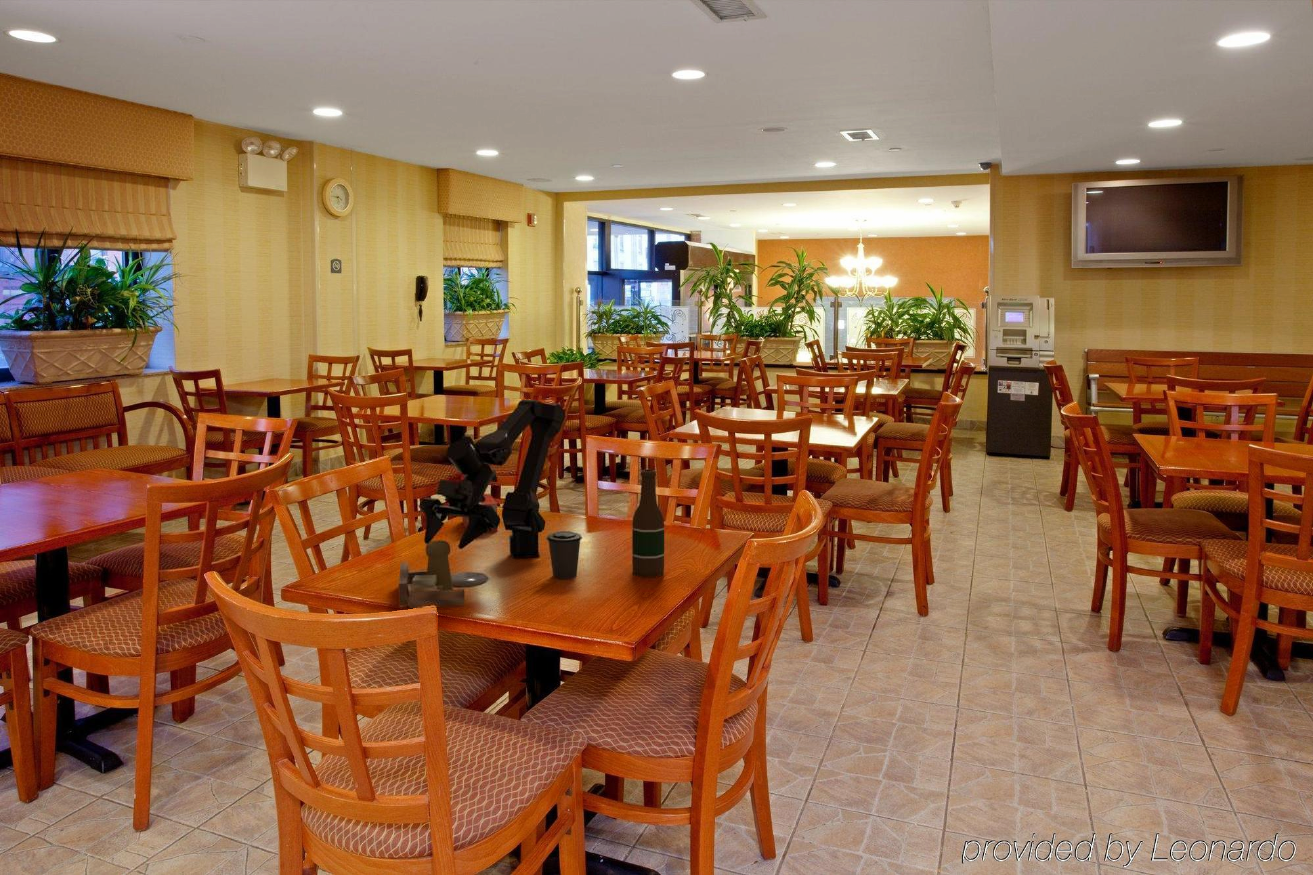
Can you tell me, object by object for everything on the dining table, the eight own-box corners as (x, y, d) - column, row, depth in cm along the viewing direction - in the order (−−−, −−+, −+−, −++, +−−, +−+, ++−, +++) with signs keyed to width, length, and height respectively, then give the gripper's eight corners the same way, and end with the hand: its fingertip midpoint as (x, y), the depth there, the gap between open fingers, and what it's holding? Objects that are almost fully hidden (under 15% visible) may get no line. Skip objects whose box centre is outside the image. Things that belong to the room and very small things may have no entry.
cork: (427, 587, 209) (425, 538, 208) (455, 586, 210) (453, 537, 208) (422, 595, 203) (421, 545, 202) (451, 595, 204) (450, 544, 202)
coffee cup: (554, 582, 213) (554, 538, 211) (541, 573, 220) (541, 531, 218) (588, 577, 216) (588, 534, 215) (574, 569, 224) (574, 527, 222)
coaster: (486, 572, 220) (486, 570, 220) (489, 585, 211) (489, 583, 211) (442, 575, 218) (442, 573, 218) (442, 588, 208) (442, 586, 208)
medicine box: (461, 522, 270) (461, 494, 269) (490, 520, 273) (490, 492, 271) (468, 534, 256) (467, 505, 255) (498, 532, 258) (498, 503, 257)
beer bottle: (669, 570, 223) (670, 468, 219) (658, 579, 216) (659, 474, 212) (638, 566, 225) (638, 466, 222) (626, 575, 218) (626, 472, 215)
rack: (461, 580, 214) (461, 558, 213) (464, 605, 197) (464, 580, 196) (401, 584, 211) (400, 561, 210) (399, 609, 194) (398, 584, 193)
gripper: (423, 461, 213) (390, 520, 205) (491, 468, 205) (460, 529, 196) (446, 490, 221) (415, 547, 213) (513, 498, 213) (484, 558, 204)
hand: (442, 545), depth 206 cm, fingers open, 9 cm apart
